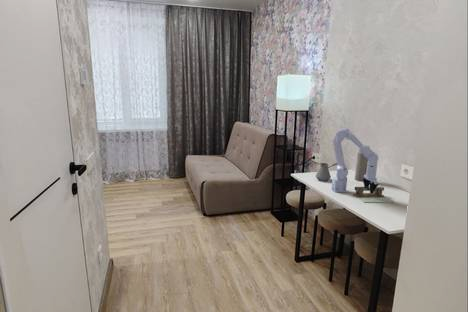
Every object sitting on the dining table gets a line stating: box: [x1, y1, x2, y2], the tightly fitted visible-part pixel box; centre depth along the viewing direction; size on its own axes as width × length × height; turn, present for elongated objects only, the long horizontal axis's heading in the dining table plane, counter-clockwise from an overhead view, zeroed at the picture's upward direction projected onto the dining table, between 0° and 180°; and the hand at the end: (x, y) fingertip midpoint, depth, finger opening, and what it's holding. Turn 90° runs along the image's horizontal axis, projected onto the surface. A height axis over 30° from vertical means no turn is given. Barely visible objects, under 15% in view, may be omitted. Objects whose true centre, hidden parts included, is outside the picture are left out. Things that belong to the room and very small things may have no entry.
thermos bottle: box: [354, 148, 368, 182], centre depth 230 cm, size 8×8×28 cm
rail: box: [354, 186, 385, 192], centre depth 198 cm, size 19×2×2 cm, turn 93°
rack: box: [352, 189, 385, 198], centre depth 199 cm, size 19×5×5 cm, turn 93°
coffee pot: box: [315, 162, 337, 182], centre depth 231 cm, size 21×12×15 cm, turn 97°
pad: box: [358, 197, 395, 204], centre depth 191 cm, size 20×7×1 cm, turn 93°
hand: (369, 190), depth 199 cm, fingers open, 7 cm apart
